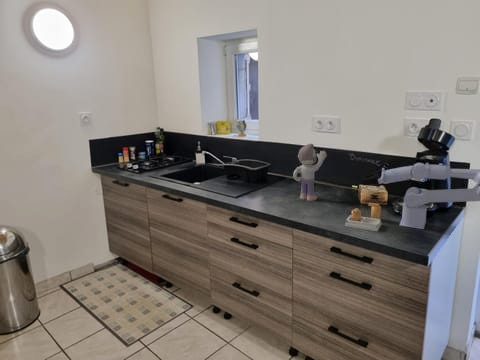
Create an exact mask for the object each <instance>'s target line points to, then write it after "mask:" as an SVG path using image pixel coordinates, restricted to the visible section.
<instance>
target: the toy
mask: <svg viewBox="0 0 480 360" xmlns="http://www.w3.org/2000/svg"><path fill="white" fill-rule="evenodd" d="M314 145H315V144H313V143H307V144H305V145H304V146H302V147H300V149H299V151H298V155H297V158H298V160H299V162H300V163H301V165H299V166H297V167H296V168H295V169H294V171H293V174H292V175H293V176H292V178H293V179H294V180H295V181H296V182H300V183H301V184H300V185H301V186H300V188H301V189H300V196H299V199H301V200H307V201H310V202H312V201H316V200H317V199H318V196H317V195H316V193H315V185H314V184H315V180H316V178H315V172H317V171H319V169H320V167H321V166H322V164H323V162H324V161H325V159H326V158H327V156H328V154H327V151H325V150H320V152H319V153H316V152H317V150H315V148H314ZM317 158H318V161H317ZM316 162H317V163H316ZM298 174H300V176H298Z"/></svg>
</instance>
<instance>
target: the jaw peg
mask: <svg viewBox="0 0 480 360" xmlns="http://www.w3.org/2000/svg"><path fill="white" fill-rule="evenodd" d="M367 206H368V207H371V212H370V218H374V219H381V214H382V213H381V212H382V211H381V210H382V206H381V205H380V204H379V203H373V202H368V204H367Z"/></svg>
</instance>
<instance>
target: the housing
mask: <svg viewBox="0 0 480 360" xmlns="http://www.w3.org/2000/svg"><path fill="white" fill-rule="evenodd" d="M381 220H382V219H381V218H380V219H374V218H371V217H367V216H366V217H365V216H362V210H361V209H359V208H356V207H355V208H354V209H351V214H349V216H348V217H347V218H346V220H345V224H344V226H345V227H347V228H353V229H359V230H365V231H371V232H379V229H380V228H381V226H382V221H381Z"/></svg>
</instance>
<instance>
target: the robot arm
mask: <svg viewBox="0 0 480 360" xmlns="http://www.w3.org/2000/svg"><path fill="white" fill-rule="evenodd" d="M425 178H426V179H432V180H433V179H434V180H446V179H447V178H456V179H457V178H458V179H466V180H472V181H473V182H474V183H476V185H474V186H473V187H472V188H455V189H452V188H450V189H426V188H418V187H415V186H412V187H409V188H408V189H407V190H406V192H405V195H404V196H403V203H402V210H401V211H402V213H401V220H400V222H399V227H407V228H414V229H420V230H424V229H425V225H426V223H427V209H428V208H427V207H428V206H426V204H428V203H457V202H459V203H460V202H461V203H463V202H480V169H478V168H477V169H474V168H473V169H472V168H471V169H470V168H449V167H448V166H447V165H445V164H443V163H438V164H429V163H428V162H425V164H424V163H423V162H416V163H414V164H413V165H408V166H401V167H396V168H390V169H386V170H385V167H382V168H381V169H379V170H378V171H376V172H374V173H371V174H368V175H366V176H365V179H363V180H361V182H362V185H363V186H372V187H373V186H375V187H377V188H380V187H381V185H382V184H385V185H387V184H390V183H392V184H393V183H397V182H403V181H407V180H408V181H409V180H412V179H413V180H414V179H416V180H423V179H425ZM424 205H425V206H424Z"/></svg>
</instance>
